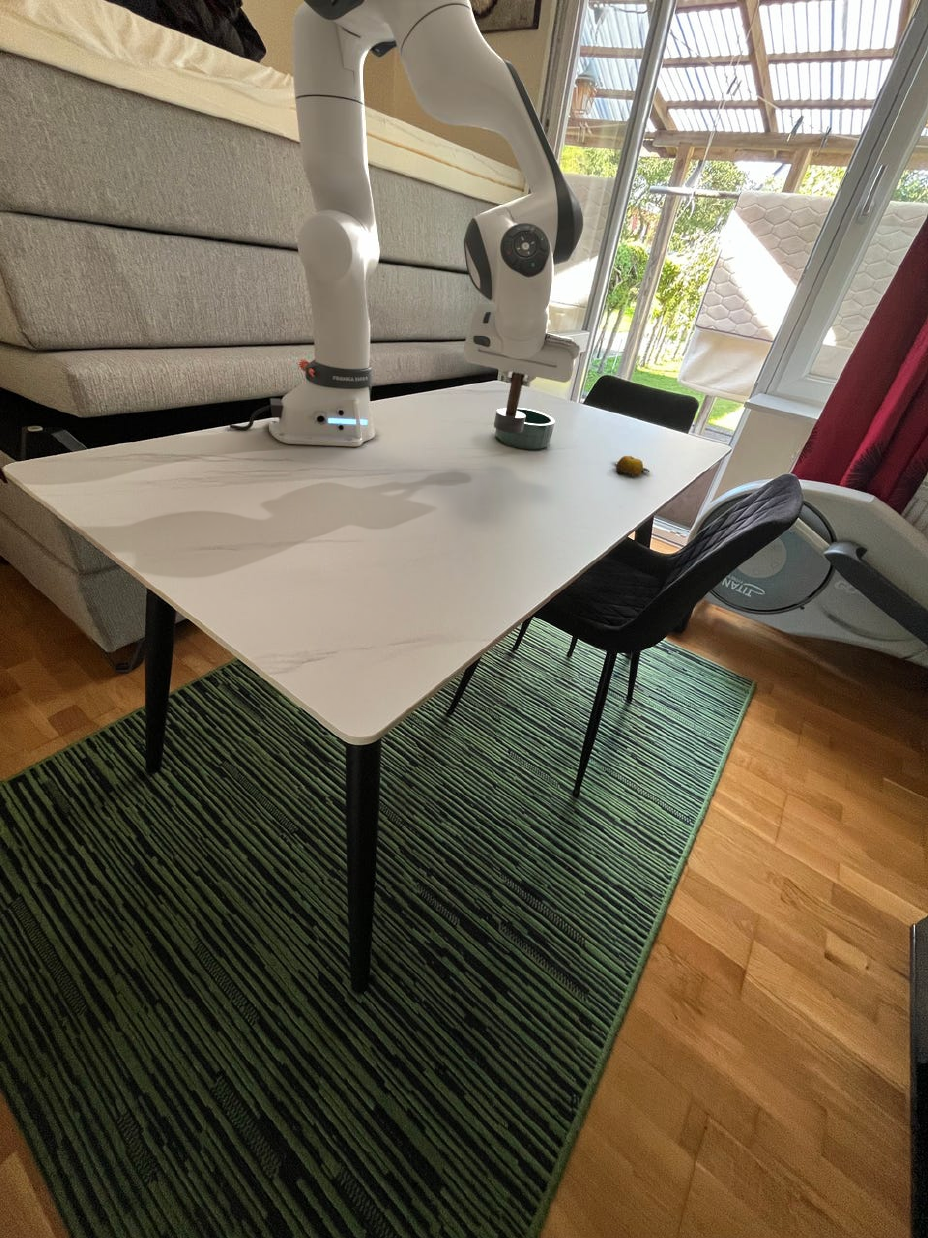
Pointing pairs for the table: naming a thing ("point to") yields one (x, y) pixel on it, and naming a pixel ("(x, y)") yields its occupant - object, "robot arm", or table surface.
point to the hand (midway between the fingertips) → (517, 381)
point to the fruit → (630, 465)
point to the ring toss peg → (511, 409)
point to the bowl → (530, 431)
